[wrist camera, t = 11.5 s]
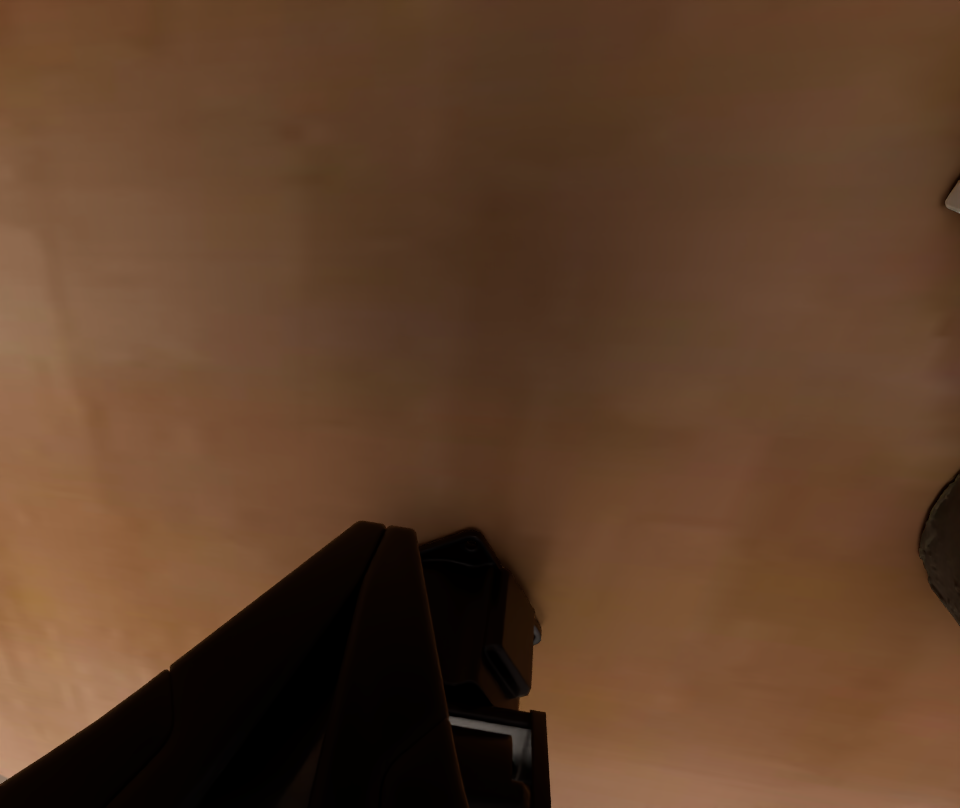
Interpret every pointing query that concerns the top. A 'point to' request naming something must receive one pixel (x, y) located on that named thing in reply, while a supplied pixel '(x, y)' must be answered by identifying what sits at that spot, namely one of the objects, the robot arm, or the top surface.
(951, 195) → the white packaging box
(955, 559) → the pillar candle
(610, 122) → the top surface
